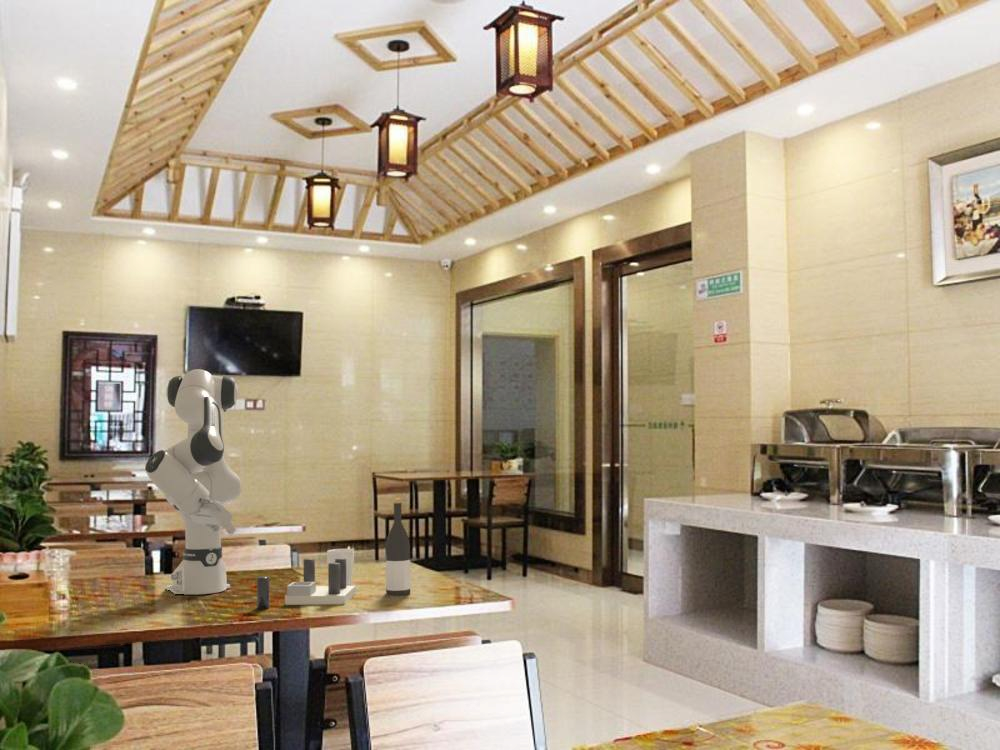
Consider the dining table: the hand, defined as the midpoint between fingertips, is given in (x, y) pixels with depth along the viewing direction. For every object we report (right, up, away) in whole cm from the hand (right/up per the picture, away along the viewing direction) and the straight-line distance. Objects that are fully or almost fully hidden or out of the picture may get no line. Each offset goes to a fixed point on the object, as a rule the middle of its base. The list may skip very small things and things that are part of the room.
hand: (225, 531), depth 262 cm
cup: (+26, -26, +43) cm, 57 cm away
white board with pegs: (+24, -25, +21) cm, 40 cm away
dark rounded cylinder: (+9, -24, +7) cm, 27 cm away
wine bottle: (+46, -25, +29) cm, 60 cm away
